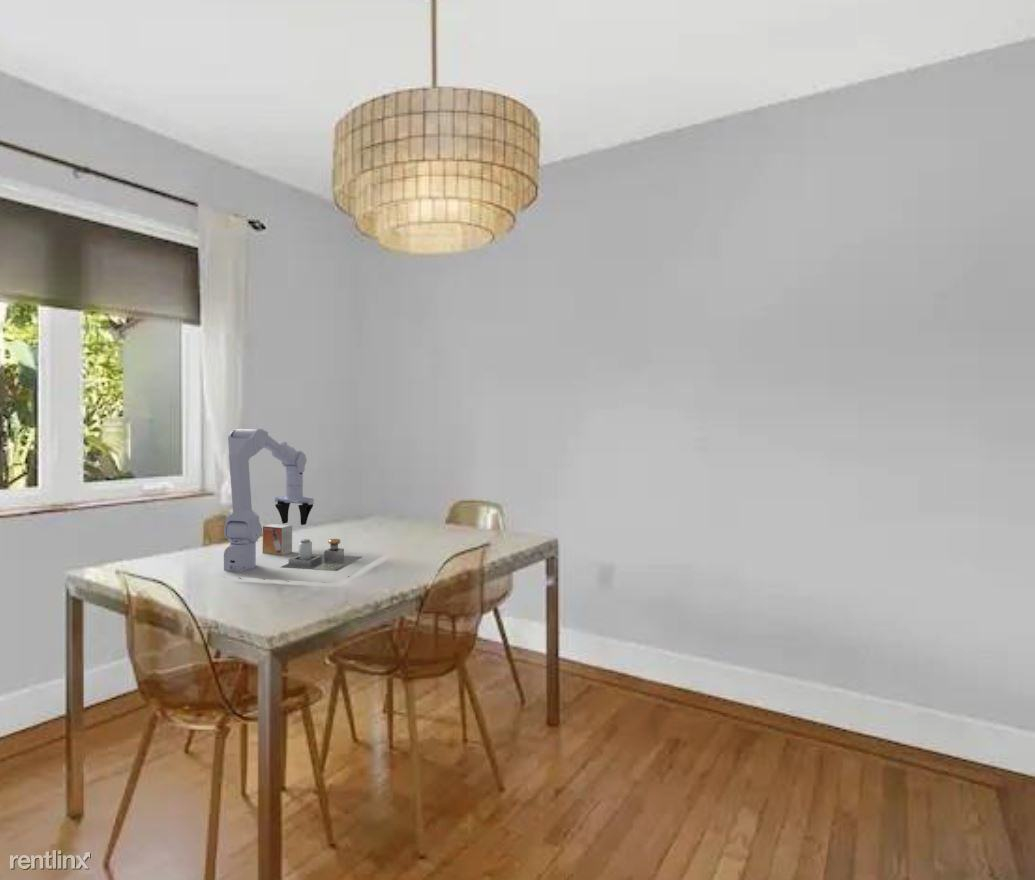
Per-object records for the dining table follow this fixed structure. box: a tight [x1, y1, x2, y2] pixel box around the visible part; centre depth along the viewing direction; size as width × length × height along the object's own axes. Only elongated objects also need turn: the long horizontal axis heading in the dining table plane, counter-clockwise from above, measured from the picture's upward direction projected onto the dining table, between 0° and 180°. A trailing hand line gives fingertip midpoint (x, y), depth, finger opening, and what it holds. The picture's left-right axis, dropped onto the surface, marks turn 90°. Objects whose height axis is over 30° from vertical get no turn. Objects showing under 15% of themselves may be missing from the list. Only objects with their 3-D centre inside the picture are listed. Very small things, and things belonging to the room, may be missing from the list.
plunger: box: [327, 538, 341, 551], centre depth 211 cm, size 4×4×4 cm
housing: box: [280, 547, 363, 572], centre depth 207 cm, size 19×19×4 cm
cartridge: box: [298, 538, 313, 560], centre depth 206 cm, size 4×4×7 cm
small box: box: [262, 523, 293, 556], centre depth 220 cm, size 8×6×10 cm
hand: (294, 523), depth 225 cm, fingers open, 7 cm apart
